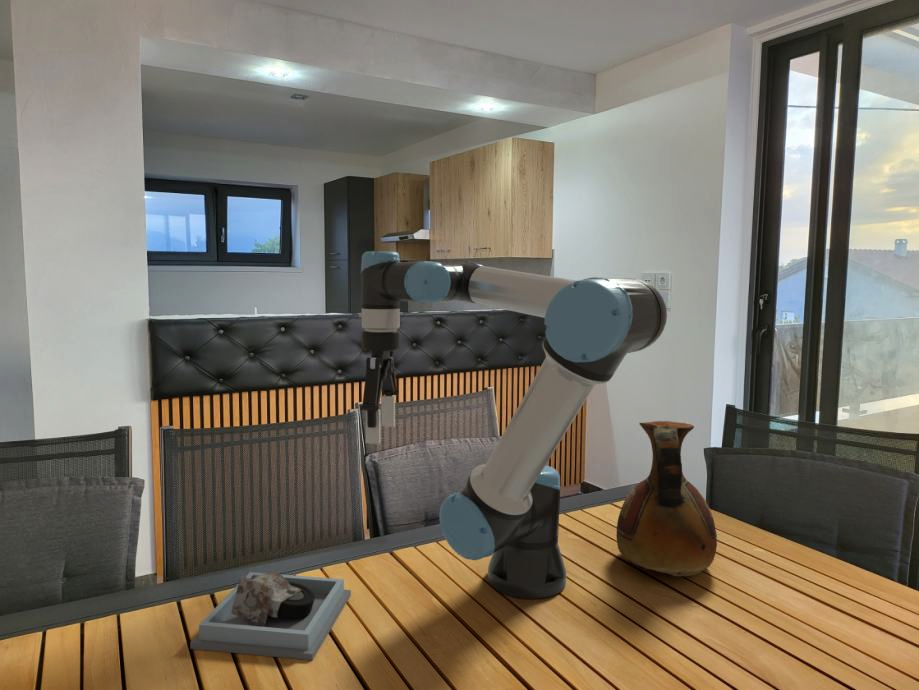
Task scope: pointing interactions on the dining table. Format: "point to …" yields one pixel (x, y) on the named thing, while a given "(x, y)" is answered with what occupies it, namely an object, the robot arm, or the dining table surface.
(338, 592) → the tray
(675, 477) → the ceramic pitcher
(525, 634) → the dining table surface
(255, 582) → the caster wheel
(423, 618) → the dining table surface
